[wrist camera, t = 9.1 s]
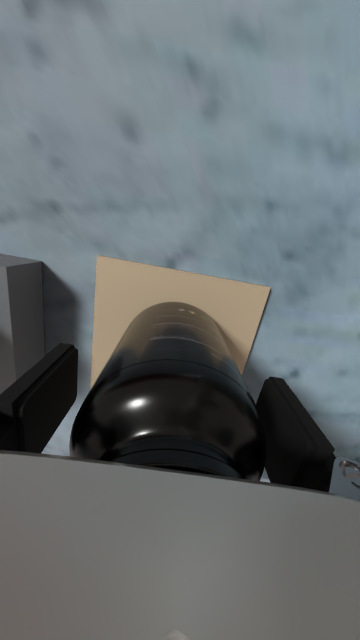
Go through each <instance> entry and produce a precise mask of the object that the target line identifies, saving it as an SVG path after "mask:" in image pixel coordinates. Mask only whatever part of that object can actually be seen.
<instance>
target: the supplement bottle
mask: <svg viewBox="0 0 360 640" xmlns="http://www.w3.org/2000/svg"><path fill="white" fill-rule="evenodd" d="M69 447H70V457H77V458H85V459H93V460H101V461H109V462H117V463H125V464H133V465H141V466H148V467H156V468H164V469H171V470H179V471H187V472H194V473H202V474H209V475H217V476H224V477H231V478H239V479H246V480H253V481H260V479H261V476H262V473H263V470H264V466H265V461H266V452H267V439H266V433H265V428H264V425H263V421H262V419H261V416H260V414H259V411H258V409H257V407H256V405H255V402H254V400H253V398H252V396H251V394H250V392H249V390H248V388H247V386H246V384H245V382H244V380H243V377H242V375H241V373H240V371H239V369H238V367H237V365H236V363H235V361H234V359H233V357H232V355H231V353H230V350H229V348H228V346H227V344H226V342H225V340H224V338H223V336H222V334H221V332H220V330H219V328H218V327H217V325H216V324H215V322H214V321H213V320H212V318H211V317H210V316H209V315H207V314H206V313H205V312H204V311H202V310H201V309H199V308H197V307H195V306H193V305H190V304H187V303H182V302H164V303H159V304H156V305H153V306H150V307H148V308H147V309H145V310H143V311H142V312H141V313H139V314H138V315H137V316H136V317H135V318H134V319H133V320H132V322H131V323H130V324H129V326H128V327H127V329H126V330H125V332H124V334H123V335H122V337H121V339H120V341H119V342H118V344H117V346H116V347H115V349H114V351H113V352H112V354H111V356H110V358H109V359H108V361H107V363H106V364H105V366H104V368H103V369H102V371H101V373H100V374H99V376H98V378H97V380H96V381H95V383H94V385H93V386H92V388H91V390H90V392H89V393H88V395H87V397H86V398H85V400H84V402H83V404H82V406H81V408H80V410H79V412H78V414H77V416H76V418H75V421H74V423H73V426H72V431H71V435H70V446H69Z"/></svg>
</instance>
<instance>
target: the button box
mask: <svg viewBox="0 0 360 640" xmlns="http://www.w3.org/2000/svg"><path fill="white" fill-rule="evenodd" d="M43 357H45V343H44V313H43V283H42V261H37V260H32V259H26V258H21V257H15V256H9V255H4V254H0V394H1V393H2V392H4V391H5V390H6V389H7V388H8V387H9V386H11V385H12V384H13V383H14V382H15V381H16V380H18V379H19V378H20V377H21V376H22V375H23V374H25V373H26V372H27V371H28V370H29V369H31V368H32V367H33V366H34V365H35V364H37V363H38V362H39V361H40V360H41V359H42V358H43Z"/></svg>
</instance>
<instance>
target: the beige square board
mask: <svg viewBox="0 0 360 640" xmlns="http://www.w3.org/2000/svg"><path fill="white" fill-rule="evenodd" d="M269 291H270V287H267V286H262V285H256V284H251V283H245V282H240V281H235V280H229V279H224V278H218V277H213V276H207V275H202V274H197V273H191V272H186V271H180V270H175V269H170V268H164V267H159V266H153V265H148V264H143V263H137V262H132V261H126V260H121V259H116V258H110V257H105V256H99V255H98V256H97V267H96V287H95V307H94V327H93V347H92V367H91V387H90V390H91V388H92V386H93V385H94V383H95V381H96V380H97V378H98V376H99V374H100V373H101V371H102V369H103V368H104V366H105V364H106V363H107V361H108V359H109V358H110V356H111V354H112V352H113V351H114V349H115V347H116V346H117V344H118V342H119V341H120V339H121V337H122V335H123V334H124V332H125V330H126V329H127V327H128V326H129V324H130V323H131V322H132V320H133V319H134V318H135V317H136V316H137V315H138V314H139V313H141V312H142V311H143V310H145V309H147V308H148V307H150V306H153V305H156V304H159V303H164V302H182V303H187V304H190V305H193V306H195V307H197V308H199V309H201V310H202V311H204V312H205V313H206V314H207V315H209V316H210V317H211V318H212V320H213V321H214V322H215V324H216V325H217V327H218V328H219V330H220V332H221V334H222V336H223V338H224V340H225V342H226V344H227V346H228V348H229V350H230V353H231V355H232V357H233V359H234V361H235V363H236V365H237V367H238V369H239V371H240V373H241V375H242V374H243V371H244V368H245V365H246V362H247V359H248V355H249V352H250V349H251V346H252V343H253V340H254V337H255V334H256V331H257V328H258V325H259V322H260V319H261V316H262V313H263V310H264V306H265V303H266V300H267V297H268V294H269Z"/></svg>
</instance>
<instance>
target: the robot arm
mask: <svg viewBox="0 0 360 640" xmlns="http://www.w3.org/2000/svg"><path fill="white" fill-rule="evenodd" d="M77 368H78V350H77V349H76V348H75V347H74V345H70V344H64V343H60V344H59V345H57V346H56V347H55V348H54V349H53V350H52V351H50V352H49V353H48V354H47V355H46V356H45V357H43V358H42V359H41V360H40V361H39V362H38V363H37V364H35V365H34V366H33V367H32V368H31V369H29V370H28V371H27V372H26V373H25V374H23V375H22V376H21V377H20V378H19V379H18V380H16V381H15V382H14V383H13V384H12V385H11V386H9V387H8V388H7V389H6V390H5V391H4V392H2V393H1V394H0V640H360V463H358V462H356V461H354V460H352V459H350V458H346V457H337V458H336V457H335V455H334V454H333V452H334V450H335V449H334V448H333V446H332V445H331V443H330V442H329V441H328V439H327V438H326V437H325V435H324V434H323V433H322V431H321V430H320V428H319V427H318V426H317V424H316V423H315V422H314V420H313V419H312V418H311V416H310V415H309V413H308V412H307V411H306V409H305V408H304V407H303V405H302V404H301V403H300V401H299V400H298V398H297V397H296V396H295V394H294V393H293V392H292V390H291V389H290V388H289V386H288V385H287V384H286V382H285V381H284V380H283V379H282V378H276V377H269V379H266V380H265V382H264V384H263V387H262V390H261V392H260V395H259V398H258V400H257V403H256V407H257V409H258V411H259V414H260V416H261V419H262V421H263V425H264V428H265V433H266V439H267V452H266V461H265V469H266V471H267V474H268V477H269V480H270V482H271V483H268V482H261V481H253V480H246V479H239V478H231V477H224V476H217V475H209V474H202V473H194V472H187V471H179V470H171V469H164V468H156V467H148V466H141V465H133V464H125V463H117V462H109V461H101V460H93V459H85V458H77V457H68V456H59V455H50V454H41V452H42V451H43V449H44V448H45V446H46V445H47V443H48V442H49V440H50V439H51V437H52V436H53V434H54V432H55V431H56V429H57V428H58V426H59V425H60V423H61V422H62V420H63V419H64V417H65V416H66V414H67V413H68V411H69V410H70V408H71V407H72V405H73V403H74V402H75V400H76V396H77Z"/></svg>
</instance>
